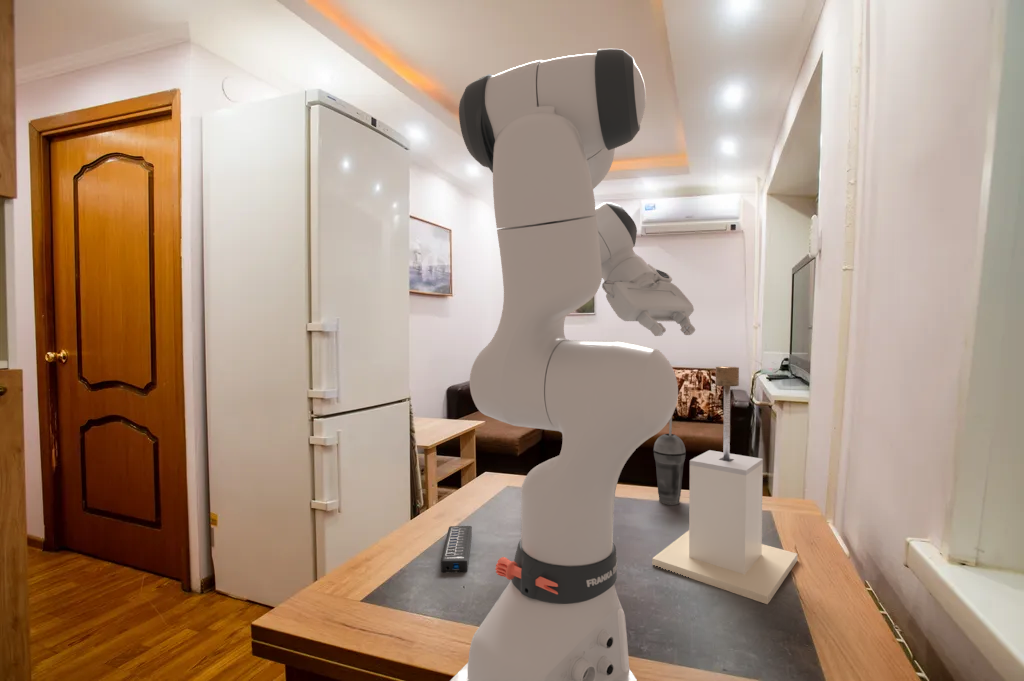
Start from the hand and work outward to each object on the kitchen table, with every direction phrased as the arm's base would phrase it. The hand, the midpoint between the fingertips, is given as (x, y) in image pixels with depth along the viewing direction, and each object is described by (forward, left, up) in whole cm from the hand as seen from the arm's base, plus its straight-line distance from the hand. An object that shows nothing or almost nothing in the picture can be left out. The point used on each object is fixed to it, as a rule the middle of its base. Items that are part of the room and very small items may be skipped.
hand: (676, 333), depth 92 cm
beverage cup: (+20, +10, -39) cm, 45 cm away
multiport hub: (-29, +28, -40) cm, 57 cm away
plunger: (-2, -10, -24) cm, 26 cm away
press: (-2, -10, -39) cm, 40 cm away
